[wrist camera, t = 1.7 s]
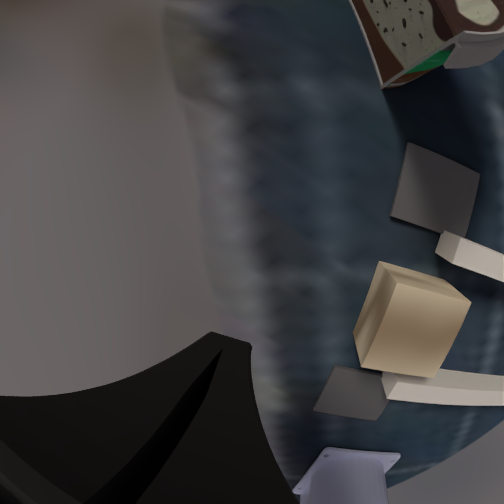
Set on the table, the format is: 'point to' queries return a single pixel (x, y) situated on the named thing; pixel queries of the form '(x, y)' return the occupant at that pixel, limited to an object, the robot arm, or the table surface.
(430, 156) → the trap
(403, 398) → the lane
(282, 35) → the table surface
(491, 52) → the food container
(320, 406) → the plate
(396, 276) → the birch block
